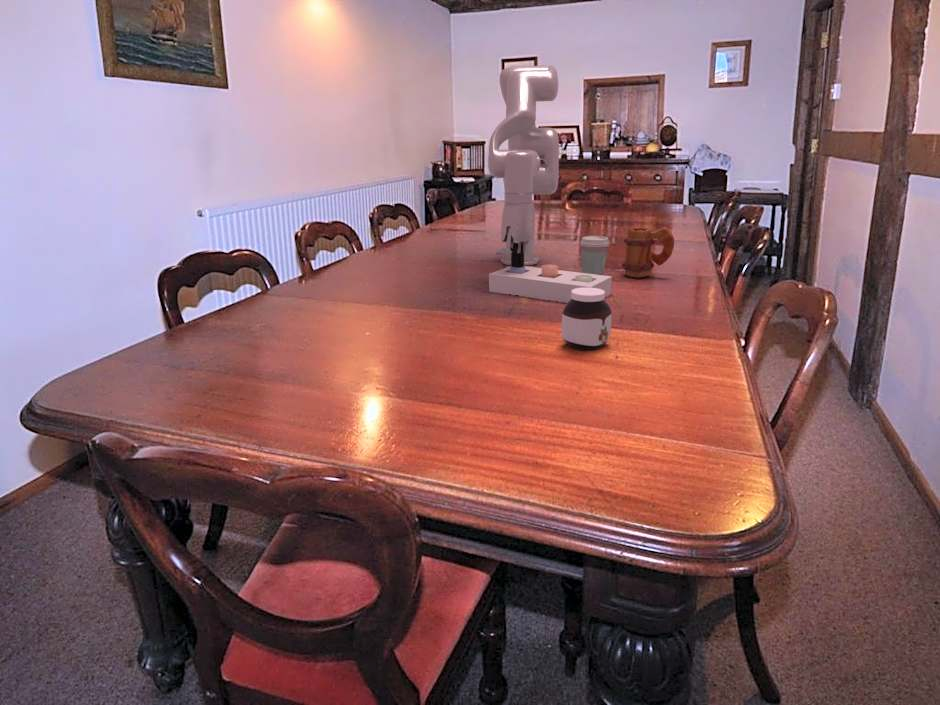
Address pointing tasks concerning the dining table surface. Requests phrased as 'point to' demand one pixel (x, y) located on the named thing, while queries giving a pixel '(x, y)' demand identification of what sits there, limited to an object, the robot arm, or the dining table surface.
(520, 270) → the slate button
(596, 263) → the coffee cup
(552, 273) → the orange rounded piece
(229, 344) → the dining table surface
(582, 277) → the sage button
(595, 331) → the spread jar
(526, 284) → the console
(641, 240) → the mug
